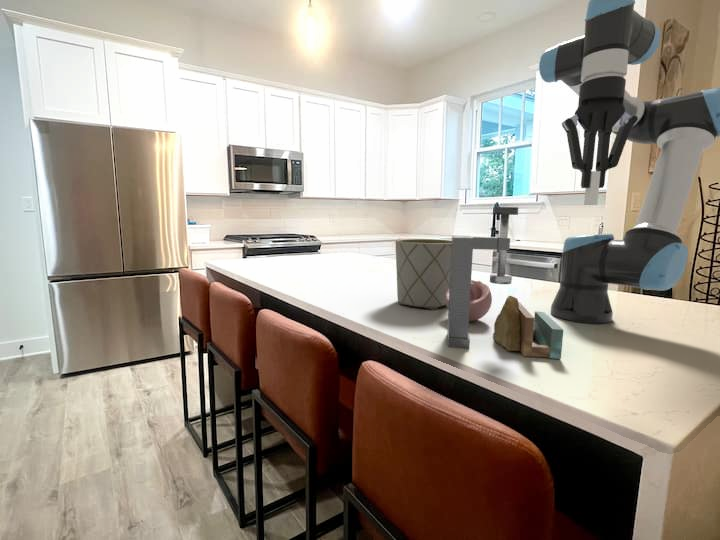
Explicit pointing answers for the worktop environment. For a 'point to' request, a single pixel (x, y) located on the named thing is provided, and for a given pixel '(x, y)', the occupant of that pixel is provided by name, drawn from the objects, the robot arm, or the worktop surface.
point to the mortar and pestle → (476, 300)
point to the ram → (500, 276)
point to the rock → (508, 325)
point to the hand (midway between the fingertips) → (590, 204)
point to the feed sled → (539, 335)
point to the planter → (423, 271)
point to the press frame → (465, 284)
